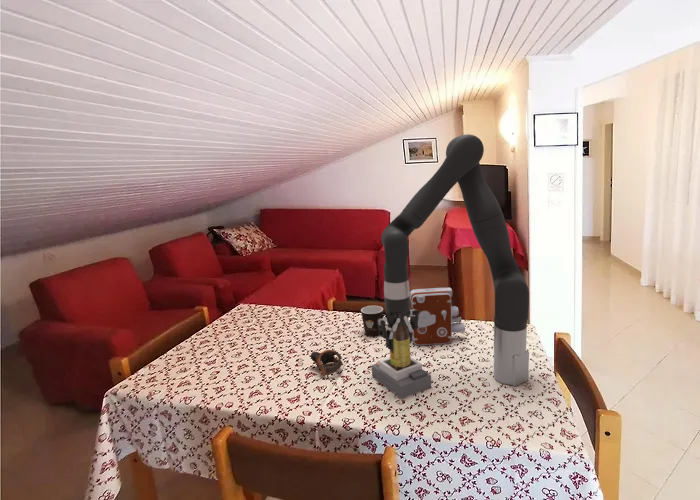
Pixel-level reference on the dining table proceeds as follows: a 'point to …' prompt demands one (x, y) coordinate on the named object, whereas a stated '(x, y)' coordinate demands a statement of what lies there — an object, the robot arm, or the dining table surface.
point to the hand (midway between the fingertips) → (399, 345)
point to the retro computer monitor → (402, 377)
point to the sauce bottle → (400, 345)
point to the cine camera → (434, 316)
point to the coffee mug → (371, 319)
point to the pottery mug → (327, 361)
